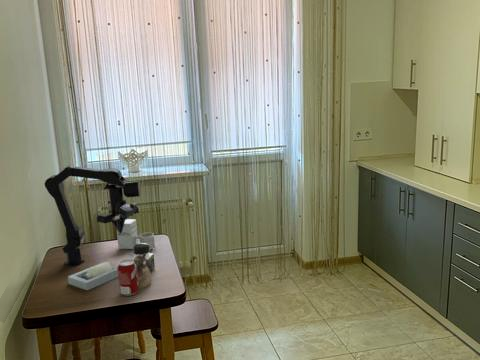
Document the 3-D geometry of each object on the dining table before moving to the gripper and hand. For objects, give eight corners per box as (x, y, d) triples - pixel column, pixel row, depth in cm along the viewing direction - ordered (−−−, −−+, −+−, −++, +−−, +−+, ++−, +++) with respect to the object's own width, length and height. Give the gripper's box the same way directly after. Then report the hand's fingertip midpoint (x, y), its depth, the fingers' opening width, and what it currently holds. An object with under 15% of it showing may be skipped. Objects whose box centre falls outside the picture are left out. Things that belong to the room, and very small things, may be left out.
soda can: (129, 298, 174) (126, 267, 171) (116, 294, 177) (112, 264, 175) (142, 290, 179) (139, 260, 177) (129, 287, 183) (126, 257, 180)
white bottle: (107, 274, 199) (83, 284, 190) (103, 263, 200) (78, 273, 190) (113, 271, 196) (89, 282, 187) (109, 260, 197) (84, 270, 187)
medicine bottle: (148, 276, 192) (145, 247, 190) (132, 275, 194) (129, 247, 191) (155, 269, 199) (152, 241, 197) (139, 268, 201) (136, 241, 198)
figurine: (131, 282, 187) (128, 253, 185) (149, 278, 190) (146, 249, 188) (135, 289, 181) (131, 259, 178) (153, 285, 184) (150, 255, 181)
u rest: (68, 283, 189) (67, 276, 189) (104, 268, 203) (103, 262, 202) (87, 290, 182) (86, 283, 182) (122, 274, 195) (121, 267, 195)
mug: (157, 246, 227) (155, 232, 226) (152, 251, 221) (150, 237, 219) (137, 245, 229) (135, 232, 228) (131, 250, 223) (130, 237, 221)
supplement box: (118, 249, 226) (115, 223, 223) (124, 243, 233) (121, 218, 230) (132, 249, 224) (130, 223, 222) (138, 244, 231) (136, 218, 229)
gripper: (111, 205, 195) (115, 242, 198) (145, 195, 210) (149, 229, 213) (93, 202, 202) (98, 238, 205) (128, 192, 216) (132, 226, 220)
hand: (120, 232), depth 211 cm, fingers closed
